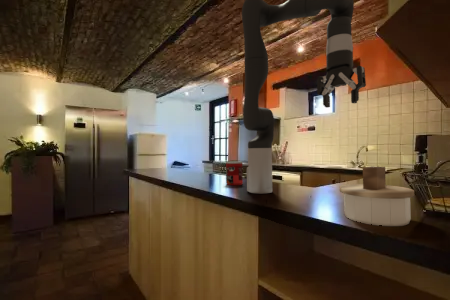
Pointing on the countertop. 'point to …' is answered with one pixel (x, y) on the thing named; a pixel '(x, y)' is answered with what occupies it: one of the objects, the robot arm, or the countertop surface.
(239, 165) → the canned food
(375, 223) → the cream bowl
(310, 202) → the countertop surface
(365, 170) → the oak lid
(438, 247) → the countertop surface
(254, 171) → the robot arm
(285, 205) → the countertop surface
